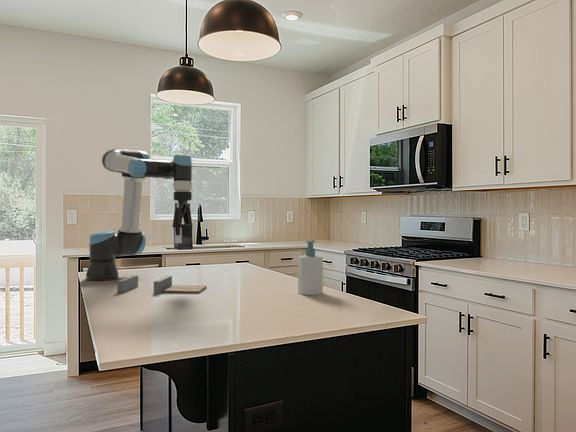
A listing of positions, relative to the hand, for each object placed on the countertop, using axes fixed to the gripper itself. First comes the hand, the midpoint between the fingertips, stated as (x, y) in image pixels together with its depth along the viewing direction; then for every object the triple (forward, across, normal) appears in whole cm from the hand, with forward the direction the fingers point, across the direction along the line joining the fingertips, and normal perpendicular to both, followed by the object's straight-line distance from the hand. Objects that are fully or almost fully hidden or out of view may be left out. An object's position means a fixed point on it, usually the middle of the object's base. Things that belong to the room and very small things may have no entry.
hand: (183, 242), depth 198 cm
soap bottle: (+21, +1, +54) cm, 58 cm away
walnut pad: (+21, 0, +1) cm, 21 cm away
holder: (+21, 0, -17) cm, 27 cm away
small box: (+3, 0, 0) cm, 3 cm away
